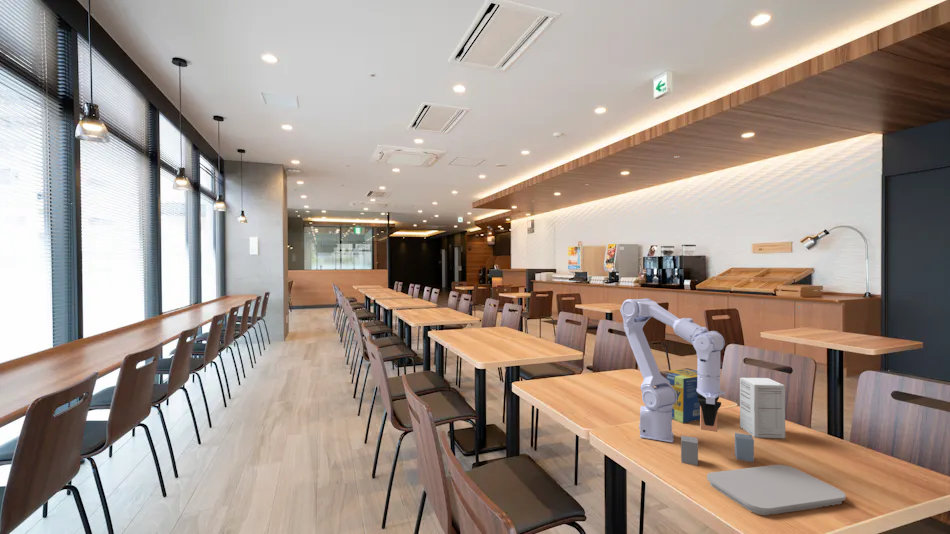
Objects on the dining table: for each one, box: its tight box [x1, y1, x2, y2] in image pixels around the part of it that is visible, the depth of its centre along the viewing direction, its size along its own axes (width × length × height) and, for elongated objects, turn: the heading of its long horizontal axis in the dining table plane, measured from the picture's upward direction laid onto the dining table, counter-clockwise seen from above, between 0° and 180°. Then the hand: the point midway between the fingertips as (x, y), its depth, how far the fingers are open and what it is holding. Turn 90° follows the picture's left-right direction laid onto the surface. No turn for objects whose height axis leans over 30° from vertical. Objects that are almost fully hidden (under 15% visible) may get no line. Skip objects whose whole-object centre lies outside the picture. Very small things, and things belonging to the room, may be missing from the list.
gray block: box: [680, 435, 699, 466], centre depth 116 cm, size 4×4×6 cm
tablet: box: [706, 464, 846, 516], centre depth 100 cm, size 16×26×2 cm, turn 103°
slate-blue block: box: [734, 432, 755, 463], centre depth 119 cm, size 4×4×6 cm
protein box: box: [660, 367, 700, 424], centre depth 153 cm, size 10×15×16 cm
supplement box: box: [739, 377, 786, 439], centre depth 137 cm, size 10×9×17 cm
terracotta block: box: [699, 406, 718, 433], centre depth 120 cm, size 4×4×6 cm
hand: (708, 422), depth 120 cm, fingers closed on terracotta block, 4 cm apart
